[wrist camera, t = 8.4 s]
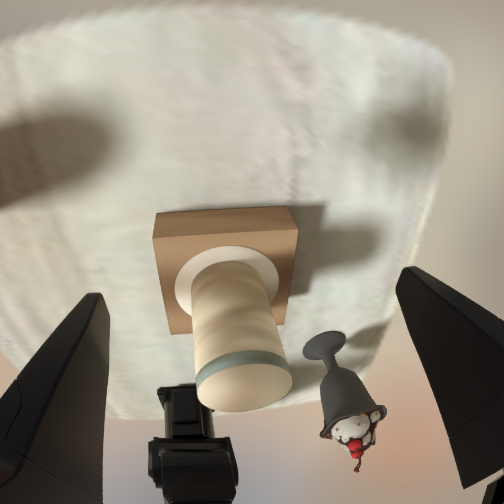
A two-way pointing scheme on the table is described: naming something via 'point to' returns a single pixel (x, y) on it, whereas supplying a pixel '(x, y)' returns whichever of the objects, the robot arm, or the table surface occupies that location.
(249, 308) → the birch cylinder
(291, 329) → the table surface
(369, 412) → the sundae
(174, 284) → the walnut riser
